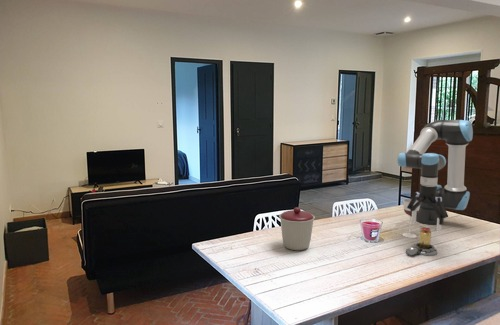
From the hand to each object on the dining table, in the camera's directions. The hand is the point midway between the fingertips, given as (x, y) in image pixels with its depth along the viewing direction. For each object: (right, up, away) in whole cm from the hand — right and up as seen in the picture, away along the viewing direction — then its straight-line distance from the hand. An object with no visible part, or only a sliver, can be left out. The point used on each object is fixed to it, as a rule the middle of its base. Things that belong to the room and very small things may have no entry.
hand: (425, 226), depth 183 cm
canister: (-64, -12, +8) cm, 65 cm away
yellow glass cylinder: (0, -11, +2) cm, 12 cm away
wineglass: (+2, -9, +24) cm, 26 cm away
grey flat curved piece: (-3, -13, 0) cm, 13 cm away
